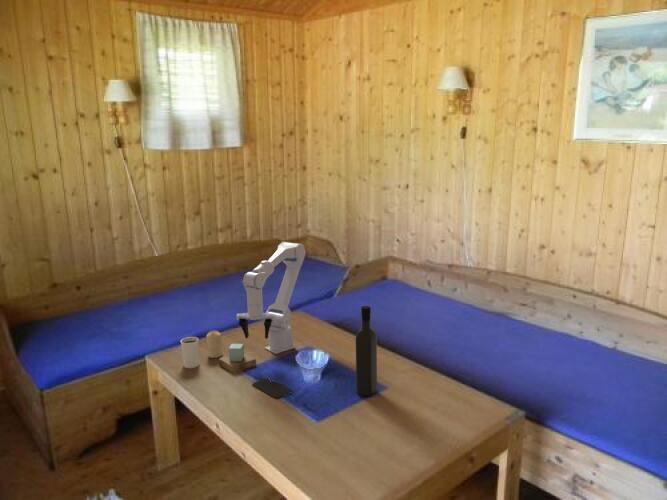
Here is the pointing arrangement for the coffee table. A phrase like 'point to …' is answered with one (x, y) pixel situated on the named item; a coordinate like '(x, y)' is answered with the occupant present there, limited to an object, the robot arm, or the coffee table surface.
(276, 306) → the robot arm
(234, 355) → the painted block
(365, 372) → the wine bottle
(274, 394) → the phone
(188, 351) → the beige cup
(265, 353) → the coffee table surface
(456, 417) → the coffee table surface
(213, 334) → the candle
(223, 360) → the walnut base
